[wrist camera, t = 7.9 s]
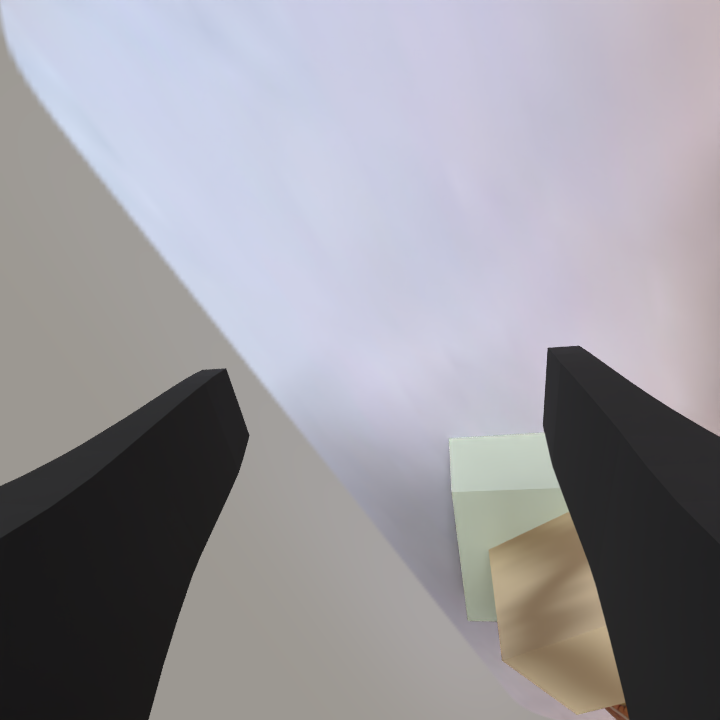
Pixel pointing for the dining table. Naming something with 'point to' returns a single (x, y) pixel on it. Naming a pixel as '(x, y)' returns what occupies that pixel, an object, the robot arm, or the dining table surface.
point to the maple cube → (554, 617)
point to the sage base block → (498, 504)
